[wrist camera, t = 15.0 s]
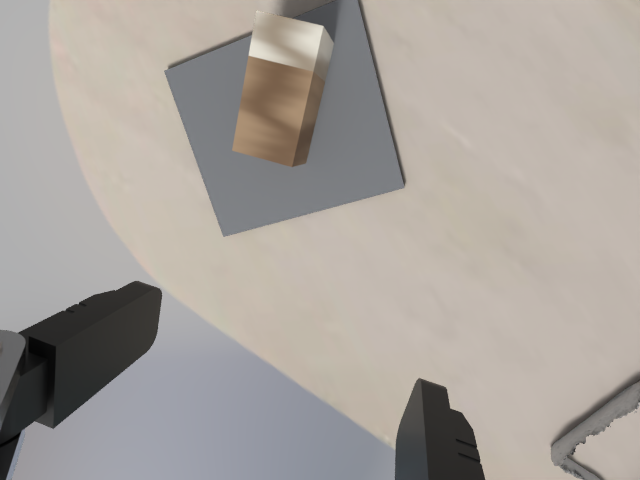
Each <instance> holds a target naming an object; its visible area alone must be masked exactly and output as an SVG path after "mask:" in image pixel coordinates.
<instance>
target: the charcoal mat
mask: <svg viewBox="0 0 640 480" xmlns="http://www.w3.org/2000/svg"><path fill="white" fill-rule="evenodd" d="M292 19H296V20H300V21H304V22H309V23H313V24H317V25H322V26H324V28H325V29H326V31H327V33H328V34H329V36H330V38H331V39H332V41H333V42H334V46H333V50H332V55H331V59H330V63H329V67H328V72H327V76H326V80H325V85H324V89H323V93H322V97H321V102H320V106H319V110H318V114H317V119H316V123H315V127H314V132H313V136H312V140H311V144H310V149H309V153H308V157H307V162H306V163H305V164H302V165H298V166H295V167H290V166H286V165H282V164H279V163H275V162H271V161H268V160H264V159H261V158H257V157H253V156H250V155H246V154H243V153H239V152H235V151H232V148H233V142H234V137H235V131H236V125H237V119H238V113H239V108H240V102H241V96H242V90H243V84H244V79H245V73H246V67H247V61H248V56H249V50H250V44H251V38H252V35H250V36H248V37H246V38H243V39H241V40H238V41H236V42H233V43H231V44H229V45H226V46H224V47H221V48H219V49H216V50H214V51H211V52H209V53H207V54H204V55H202V56H199V57H197V58H194V59H192V60H190V61H187V62H185V63H182V64H180V65H177V66H175V67H173V68H170V69H168V70H165V71H164V72H165V75H166V77H167V80H168V83H169V86H170V89H171V91H172V94H173V97H174V100H175V103H176V105H177V108H178V111H179V114H180V117H181V119H182V122H183V125H184V128H185V131H186V133H187V136H188V139H189V142H190V145H191V147H192V150H193V153H194V156H195V158H196V161H197V164H198V167H199V170H200V172H201V175H202V178H203V181H204V184H205V186H206V189H207V192H208V195H209V198H210V200H211V203H212V206H213V209H214V212H215V214H216V217H217V220H218V223H219V226H220V228H221V231H222V234H223V237H225V236H228V235H232V234H236V233H240V232H243V231H247V230H251V229H254V228H258V227H262V226H265V225H269V224H273V223H277V222H280V221H284V220H288V219H291V218H295V217H299V216H302V215H306V214H310V213H314V212H317V211H321V210H325V209H328V208H332V207H336V206H339V205H343V204H347V203H351V202H354V201H358V200H362V199H365V198H369V197H373V196H376V195H380V194H384V193H388V192H391V191H395V190H399V189H402V188H404V184H403V180H402V176H401V172H400V168H399V164H398V160H397V156H396V152H395V148H394V144H393V140H392V136H391V132H390V128H389V124H388V120H387V116H386V112H385V108H384V104H383V100H382V96H381V92H380V88H379V84H378V80H377V76H376V72H375V68H374V64H373V60H372V56H371V52H370V48H369V44H368V40H367V36H366V32H365V28H364V24H363V20H362V16H361V12H360V8H359V4H358V0H336V1H333V2H331V3H328V4H326V5H323V6H321V7H318V8H316V9H314V10H311V11H309V12H306V13H304V14H301V15H299V16H297V17H294V18H292Z"/></svg>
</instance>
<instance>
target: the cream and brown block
mask: <svg viewBox="0 0 640 480" xmlns="http://www.w3.org/2000/svg"><path fill="white" fill-rule="evenodd" d="M333 46H334V42H333V41H332V39H331V38H330V36H329V34H328V33H327V31H326V29H325V28H324V26H322V25H317V24H313V23H309V22H304V21H300V20H296V19H291V18H287V17H283V16H278V15H274V14H270V13H265V12H261V11H257V10H256V15H255V21H254V27H253V32H252V38H251V44H250V50H249V56H248V61H247V67H246V73H245V79H244V84H243V90H242V96H241V102H240V108H239V113H238V119H237V125H236V131H235V137H234V142H233V148H232V151H235V152H239V153H243V154H246V155H250V156H253V157H257V158H261V159H264V160H268V161H271V162H275V163H279V164H282V165H286V166H290V167H295V166H298V165H302V164H305V163H306V162H307V157H308V153H309V149H310V144H311V140H312V136H313V132H314V127H315V123H316V119H317V114H318V110H319V106H320V102H321V97H322V93H323V89H324V85H325V80H326V76H327V72H328V67H329V63H330V59H331V55H332V50H333Z"/></svg>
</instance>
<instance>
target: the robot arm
mask: <svg viewBox="0 0 640 480" xmlns="http://www.w3.org/2000/svg"><path fill="white" fill-rule="evenodd" d="M161 299H162V292H161V290H160V289H159V288H157V287H154V286H151V285H148V284H145V283H142V282H139V281H134V282H132V283H130V284H128V285H126V286H124V287H122V288H120V289H118V290H116V291H115V290H113V291H109V292H104V293H101V294H96V295H93V296H91V297H89V298H87V299H85V300H83V301H81V302H79V304H75V305H73V306H71V307H69V308H67V309H66V311H61V312H59V313H57V314H55V315H53V316H51V317H49V318H47V319H45V320H43V321H41V322H39V323H37V324H35V325H33V326H31V327H29V328H27V329H25V330H23V331H21V332H19V333H16V332H12V331H7V330H0V480H12V477H13V473H14V470H15V467H16V464H17V461H18V457H19V454H20V451H21V448H22V444H23V441H24V437H25V428H26V427H27V426H29V425H30V424H31V423H33V422H34V421H36V422H38V423H41V424H43V425H46V426H48V427H51V428H55V427H56V426H57V425H58V424H59V423H61V422H62V421H63V420H64V419H66V418H67V417H68V416H69V415H70V414H71V413H73V412H74V411H75V410H77V408H79V407H80V406H81V405H83V404H84V403H85V402H86V401H88V400H89V399H90V398H91V397H92V396H94V395H95V394H96V393H97V392H98V391H100V390H101V389H102V388H103V387H105V386H106V385H107V384H108V383H109V382H111V381H112V380H113V379H114V378H116V377H117V376H118V375H119V374H120V373H121V372H123V371H124V370H125V369H126V368H127V367H129V366H130V365H131V364H133V363H134V362H135V361H136V360H137V359H139V358H140V357H141V356H142V355H144V354H145V353H146V352H147V351H148V350H149V349H150V347H151V346H152V344H153V343H154V340H155V338H156V335H157V330H158V322H159V315H160V307H161ZM395 480H485V477H484V473H483V469H482V465H481V464H480V456H479V452H478V450H477V444H476V440H475V436H474V432H473V429H472V427H471V426H470V424H469V423H468V421H467V420H466V418H465V417H464V415H463V414H462V413H461V412H458V411H456V410H453V409H450V404H449V399H448V393H447V389H446V387H444V386H441V385H438V384H435V383H432V382H429V381H426V380H423V379H420V378H419V379H418V380H417V381H416V383H415V386H414V388H413V391H412V393H411V396H410V398H409V401H408V404H407V406H406V409H405V411H404V414H403V417H402V419H401V422H400V425H399V429H398V433H397V439H396V458H395Z"/></svg>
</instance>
